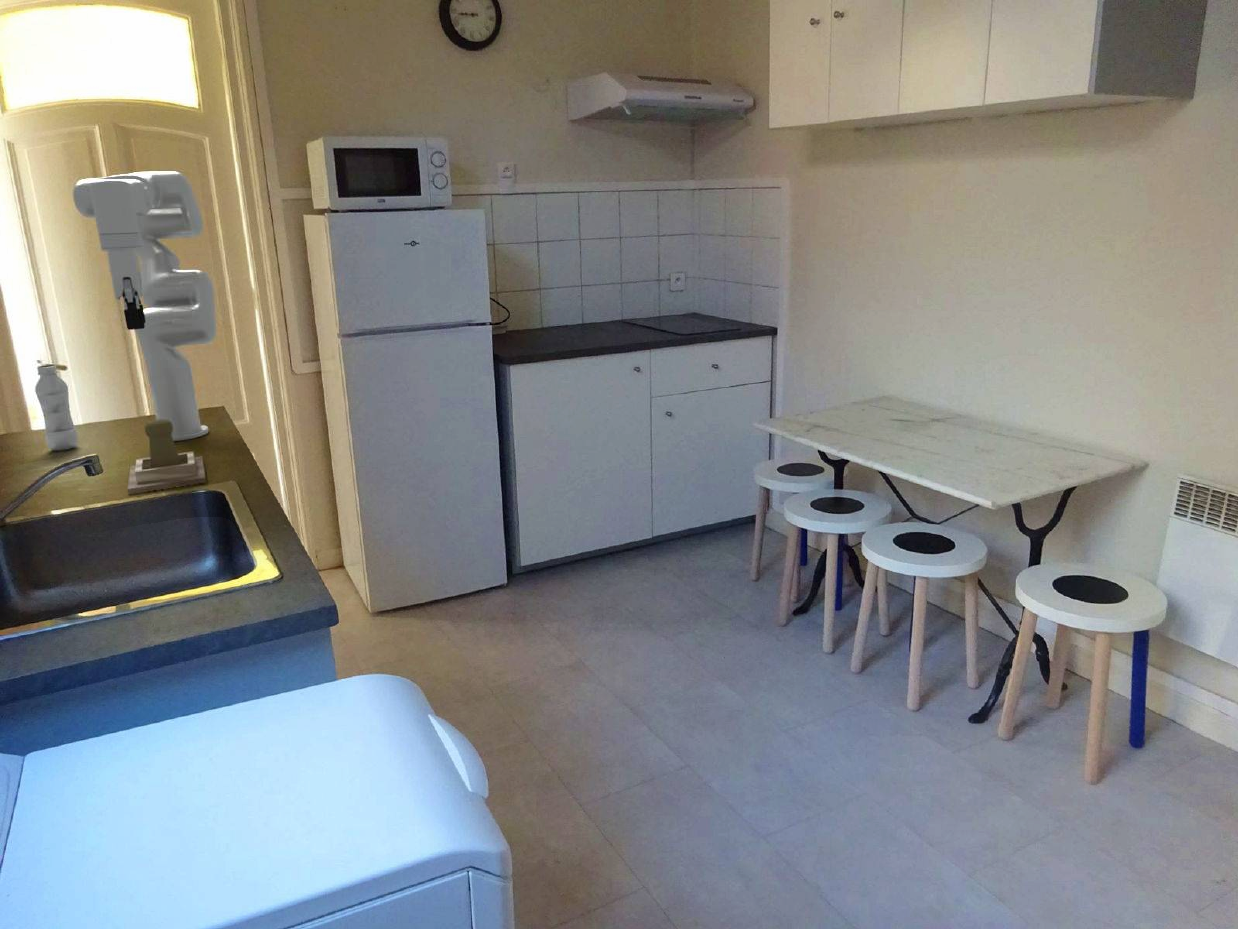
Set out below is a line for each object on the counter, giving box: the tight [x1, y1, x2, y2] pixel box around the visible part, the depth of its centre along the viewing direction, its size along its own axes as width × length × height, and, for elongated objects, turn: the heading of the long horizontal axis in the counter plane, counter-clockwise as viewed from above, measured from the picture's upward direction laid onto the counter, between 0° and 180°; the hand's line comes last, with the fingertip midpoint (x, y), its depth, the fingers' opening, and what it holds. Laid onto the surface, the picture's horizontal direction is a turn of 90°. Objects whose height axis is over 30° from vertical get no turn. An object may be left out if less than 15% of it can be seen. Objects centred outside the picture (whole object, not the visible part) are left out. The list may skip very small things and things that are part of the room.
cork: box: [144, 419, 181, 469], centre depth 181 cm, size 6×6×11 cm
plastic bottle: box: [34, 364, 80, 451], centre depth 204 cm, size 6×7×20 cm
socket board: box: [127, 451, 207, 495], centre depth 182 cm, size 18×14×3 cm
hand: (136, 326), depth 184 cm, fingers open, 9 cm apart
